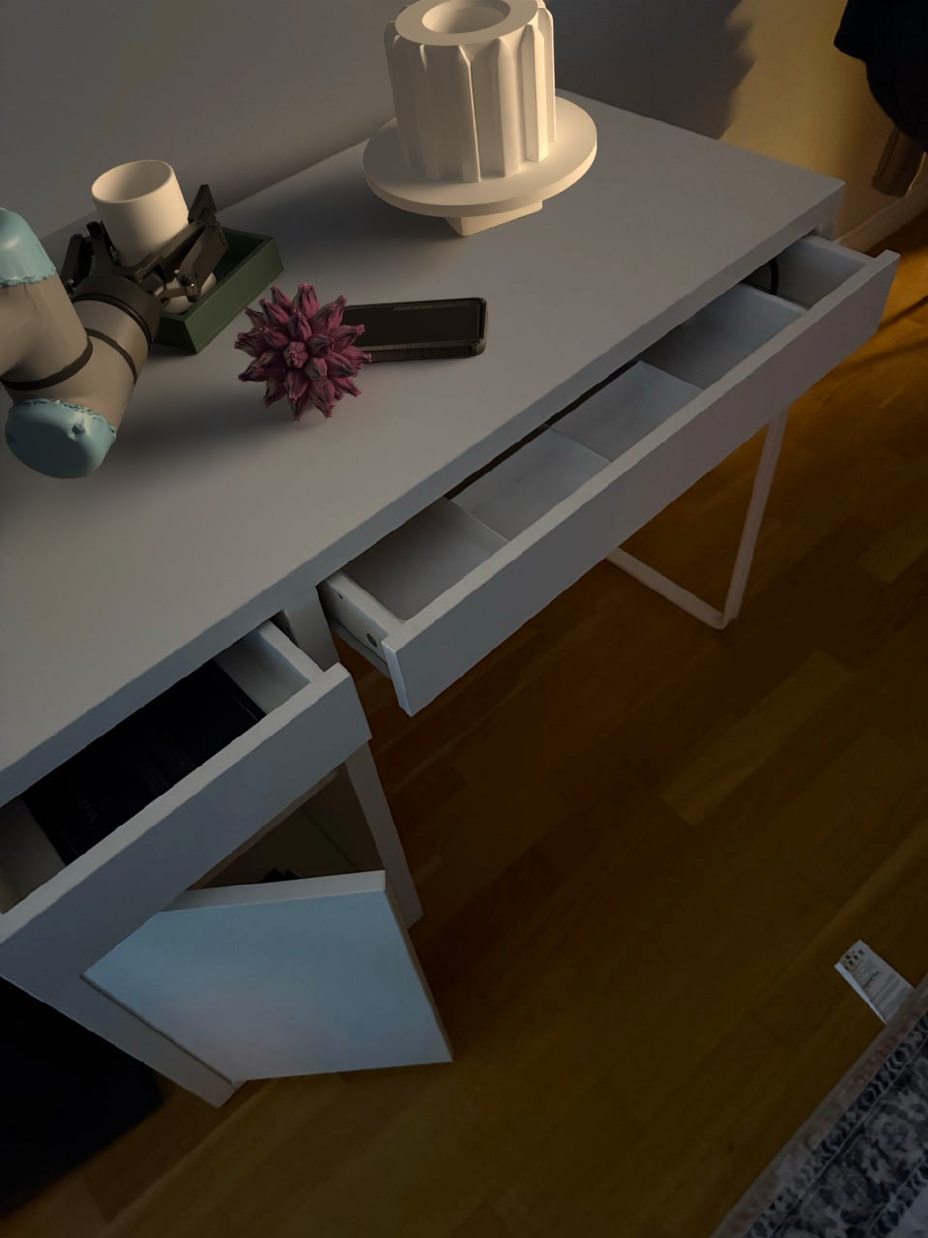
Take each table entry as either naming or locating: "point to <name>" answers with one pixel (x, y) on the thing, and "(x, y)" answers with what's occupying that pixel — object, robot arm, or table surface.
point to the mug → (143, 215)
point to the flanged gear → (476, 115)
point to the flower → (302, 351)
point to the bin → (223, 291)
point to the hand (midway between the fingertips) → (168, 200)
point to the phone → (419, 328)
